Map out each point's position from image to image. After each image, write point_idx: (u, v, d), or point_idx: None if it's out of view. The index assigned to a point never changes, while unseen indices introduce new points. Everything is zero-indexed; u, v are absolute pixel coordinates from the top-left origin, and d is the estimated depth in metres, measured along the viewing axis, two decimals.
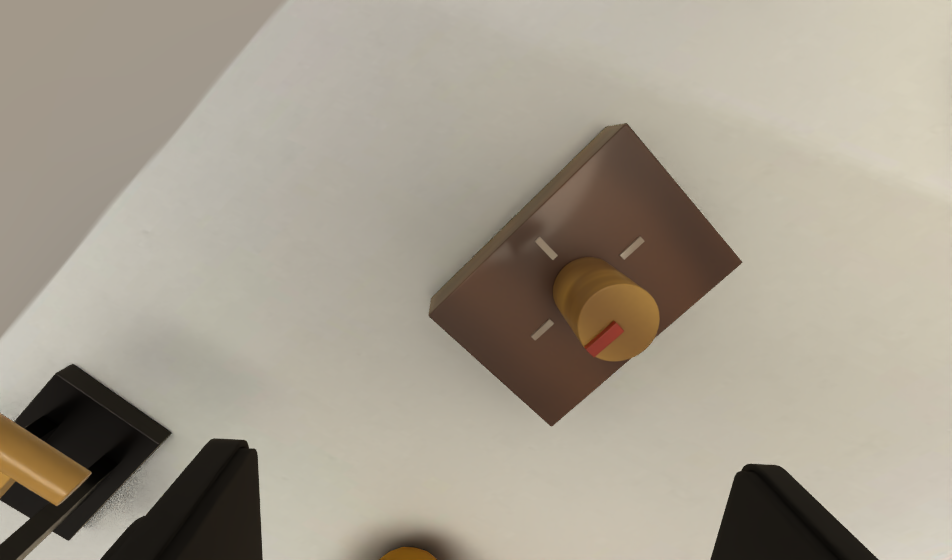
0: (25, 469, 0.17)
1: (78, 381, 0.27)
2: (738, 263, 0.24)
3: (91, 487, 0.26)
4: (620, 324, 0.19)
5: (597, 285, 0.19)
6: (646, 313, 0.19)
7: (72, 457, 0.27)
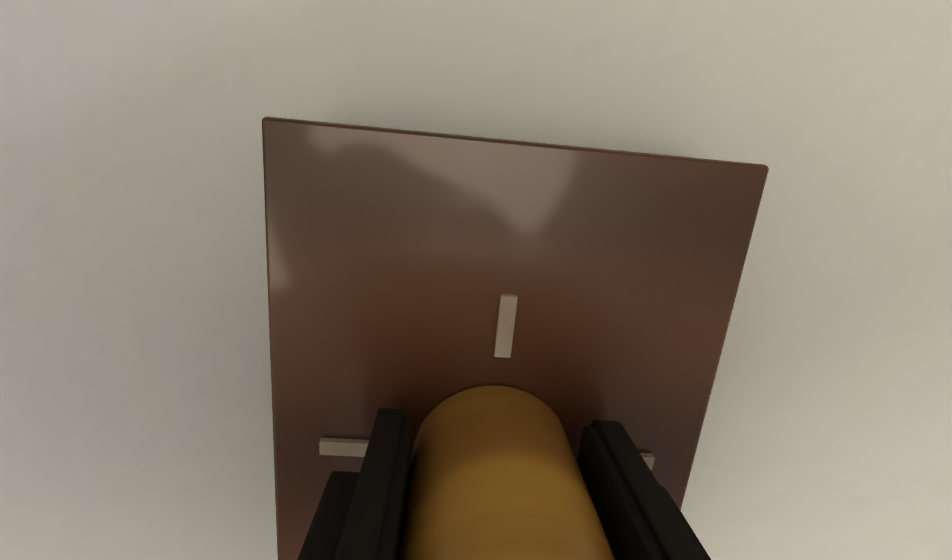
0: None
1: None
2: (761, 176, 0.09)
3: None
4: None
5: None
6: None
7: None
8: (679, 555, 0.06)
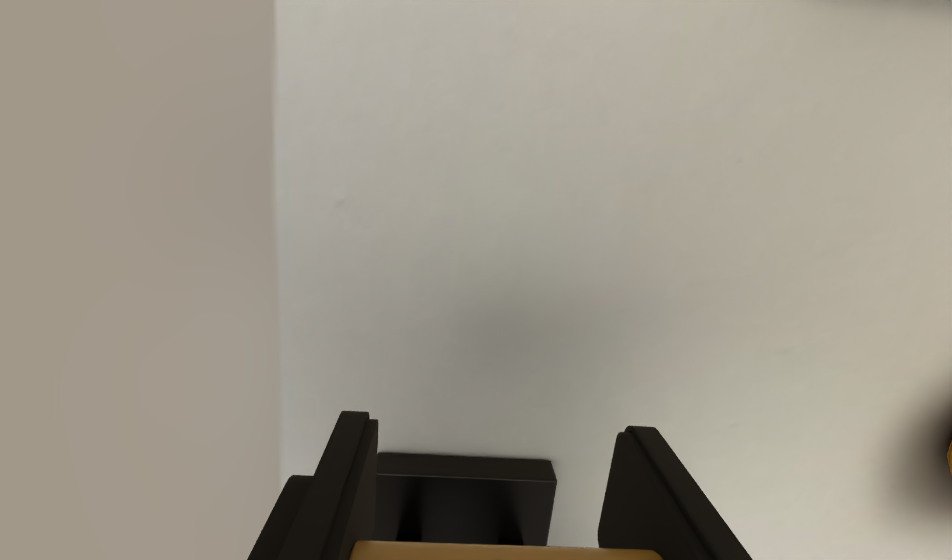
0: None
1: (403, 466, 0.17)
2: None
3: None
4: None
5: None
6: None
7: None
8: None
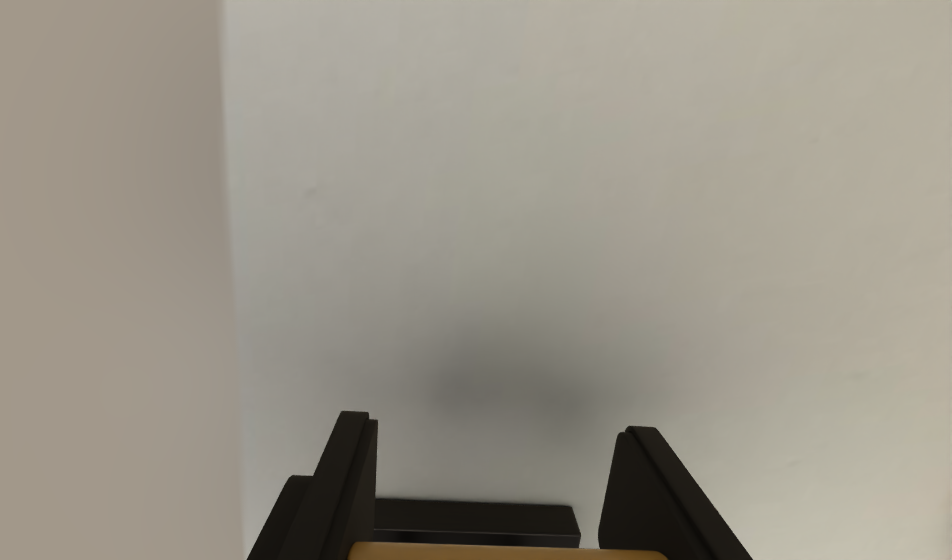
0: None
1: (392, 518, 0.14)
2: None
3: None
4: None
5: None
6: None
7: None
8: None
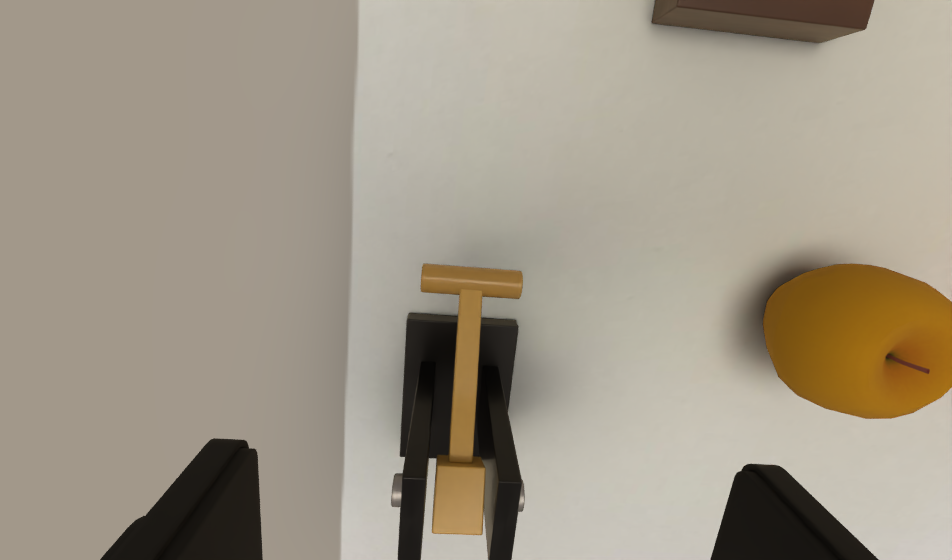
0: (488, 273, 0.22)
1: (425, 318, 0.28)
2: None
3: (500, 382, 0.27)
4: None
5: None
6: None
7: None
8: None
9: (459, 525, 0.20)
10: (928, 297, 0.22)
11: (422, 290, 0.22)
